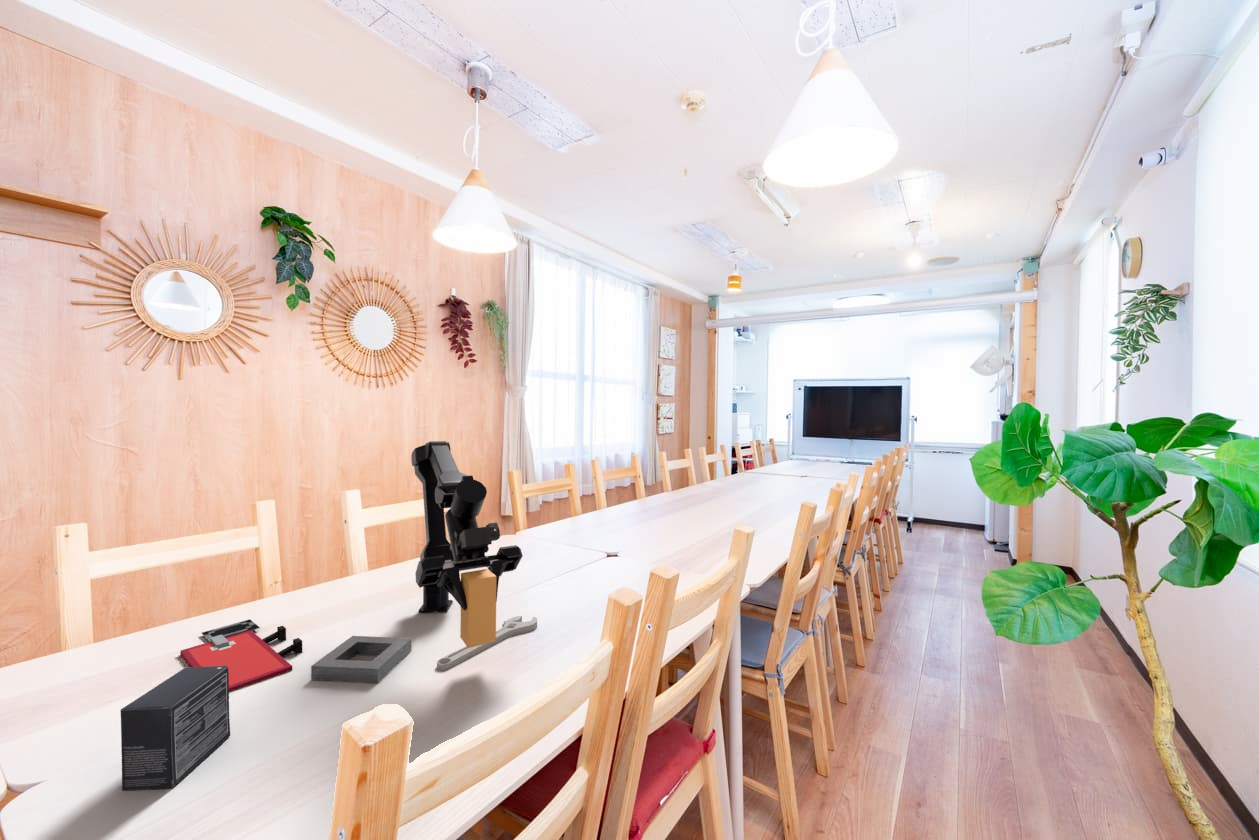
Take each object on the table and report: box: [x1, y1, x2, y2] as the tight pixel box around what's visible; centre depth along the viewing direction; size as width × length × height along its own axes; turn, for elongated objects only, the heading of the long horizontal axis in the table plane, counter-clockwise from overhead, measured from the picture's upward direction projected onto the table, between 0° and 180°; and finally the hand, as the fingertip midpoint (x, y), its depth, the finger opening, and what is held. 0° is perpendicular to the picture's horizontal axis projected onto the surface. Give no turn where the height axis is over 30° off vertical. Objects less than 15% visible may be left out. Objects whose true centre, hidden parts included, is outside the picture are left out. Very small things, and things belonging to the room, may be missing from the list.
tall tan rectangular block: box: [459, 568, 497, 648], centre depth 94 cm, size 5×5×12 cm
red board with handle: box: [180, 619, 303, 693], centre depth 99 cm, size 30×3×15 cm
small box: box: [119, 666, 231, 792], centre depth 68 cm, size 11×6×10 cm, turn 5°
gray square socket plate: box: [310, 635, 413, 684], centre depth 95 cm, size 12×12×2 cm
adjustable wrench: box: [436, 615, 538, 671], centre depth 105 cm, size 25×6×2 cm, turn 145°
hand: (480, 606), depth 93 cm, fingers closed on tall tan rectangular block, 5 cm apart
